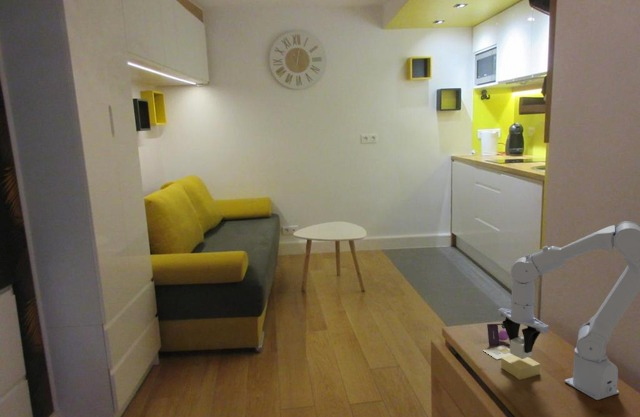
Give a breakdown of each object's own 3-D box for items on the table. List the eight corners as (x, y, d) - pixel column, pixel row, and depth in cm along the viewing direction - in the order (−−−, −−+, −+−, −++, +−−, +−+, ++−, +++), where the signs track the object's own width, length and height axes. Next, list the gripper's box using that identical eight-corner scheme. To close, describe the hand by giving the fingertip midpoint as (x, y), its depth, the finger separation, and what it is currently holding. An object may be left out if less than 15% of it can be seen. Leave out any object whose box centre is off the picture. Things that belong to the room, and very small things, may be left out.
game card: (488, 324, 141) (517, 323, 141) (482, 323, 146) (510, 322, 146) (490, 346, 140) (519, 345, 140) (484, 344, 145) (512, 343, 145)
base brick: (539, 374, 124) (540, 364, 123) (520, 379, 121) (520, 369, 121) (520, 362, 130) (520, 352, 130) (501, 367, 128) (501, 357, 127)
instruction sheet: (518, 354, 135) (518, 353, 135) (496, 359, 132) (496, 358, 132) (503, 345, 140) (503, 344, 140) (482, 351, 138) (482, 350, 138)
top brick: (532, 355, 124) (532, 339, 123) (522, 359, 122) (523, 342, 122) (519, 349, 128) (520, 333, 127) (510, 353, 126) (510, 337, 125)
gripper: (556, 307, 118) (554, 355, 120) (510, 291, 131) (508, 335, 133) (539, 313, 115) (537, 362, 117) (493, 296, 127) (492, 341, 130)
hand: (520, 348), depth 125 cm, fingers closed on top brick, 4 cm apart
